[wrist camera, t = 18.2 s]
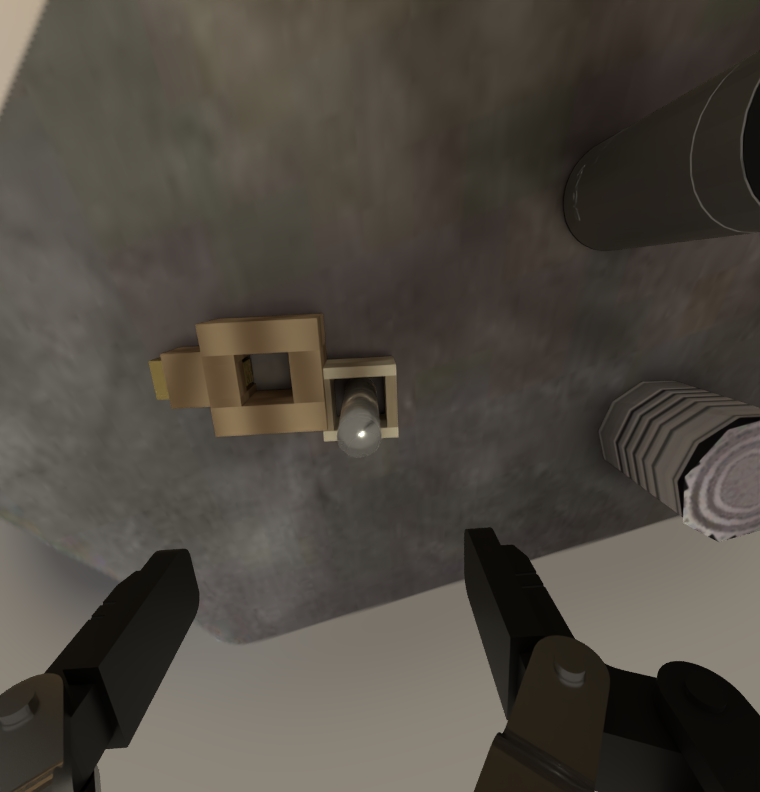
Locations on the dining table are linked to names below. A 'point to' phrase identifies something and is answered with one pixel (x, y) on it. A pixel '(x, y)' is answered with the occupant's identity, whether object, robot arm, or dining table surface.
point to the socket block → (225, 382)
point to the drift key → (161, 382)
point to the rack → (355, 370)
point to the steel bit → (359, 419)
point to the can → (689, 453)
